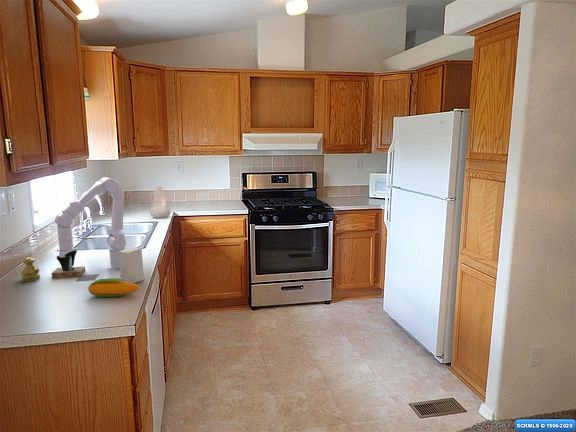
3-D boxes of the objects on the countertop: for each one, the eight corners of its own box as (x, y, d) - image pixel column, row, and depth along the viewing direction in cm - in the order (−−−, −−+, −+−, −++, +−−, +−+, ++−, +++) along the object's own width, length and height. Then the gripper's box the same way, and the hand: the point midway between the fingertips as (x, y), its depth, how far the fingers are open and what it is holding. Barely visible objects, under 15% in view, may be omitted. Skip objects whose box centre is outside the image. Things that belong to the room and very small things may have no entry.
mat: (99, 274, 199) (99, 273, 199) (94, 281, 191) (94, 280, 190) (81, 275, 198) (81, 275, 198) (75, 282, 189) (75, 281, 189)
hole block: (85, 272, 203) (84, 266, 202) (80, 277, 195) (80, 271, 194) (58, 273, 201) (57, 267, 200) (52, 279, 193) (51, 273, 192)
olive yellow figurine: (21, 283, 188) (18, 261, 186) (21, 278, 194) (18, 257, 192) (40, 280, 192) (38, 258, 190) (40, 275, 198) (37, 254, 196)
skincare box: (136, 277, 195) (134, 246, 192) (144, 280, 191) (142, 248, 189) (120, 283, 188) (117, 250, 185) (128, 285, 185) (125, 252, 182)
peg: (74, 274, 199) (72, 256, 198) (71, 276, 196) (69, 257, 195) (67, 274, 199) (65, 256, 198) (64, 277, 196) (62, 258, 195)
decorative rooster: (150, 216, 346) (148, 185, 342) (170, 214, 351) (168, 184, 346) (149, 221, 323) (147, 189, 318) (171, 220, 327) (169, 188, 323)
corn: (91, 275, 174) (141, 274, 176) (93, 292, 176) (142, 291, 178) (84, 282, 167) (136, 281, 169) (86, 300, 169) (138, 299, 171)
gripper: (61, 236, 201) (64, 264, 203) (50, 243, 187) (53, 273, 189) (77, 235, 202) (80, 263, 205) (67, 243, 188) (70, 272, 191)
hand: (68, 268), depth 197 cm, fingers open, 7 cm apart
